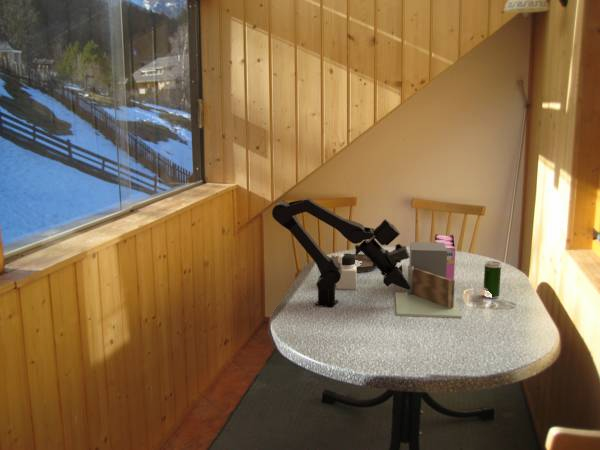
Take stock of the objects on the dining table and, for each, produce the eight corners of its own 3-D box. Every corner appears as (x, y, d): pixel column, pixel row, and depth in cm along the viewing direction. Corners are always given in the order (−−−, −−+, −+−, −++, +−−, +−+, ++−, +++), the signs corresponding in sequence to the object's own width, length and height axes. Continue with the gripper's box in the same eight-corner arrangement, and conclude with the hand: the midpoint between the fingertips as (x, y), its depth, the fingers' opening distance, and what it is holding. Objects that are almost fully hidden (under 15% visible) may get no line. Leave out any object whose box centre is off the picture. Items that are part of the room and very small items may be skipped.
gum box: (433, 265, 259) (434, 233, 256) (453, 266, 257) (454, 234, 255) (432, 282, 236) (433, 246, 233) (454, 283, 234) (455, 247, 232)
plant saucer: (320, 269, 256) (320, 261, 255) (348, 258, 272) (348, 251, 271) (364, 277, 244) (364, 269, 243) (390, 265, 260) (391, 258, 259)
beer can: (492, 300, 215) (494, 265, 213) (479, 296, 220) (481, 262, 217) (502, 297, 218) (504, 263, 216) (490, 293, 223) (492, 260, 220)
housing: (395, 284, 234) (396, 241, 231) (450, 285, 231) (452, 243, 228) (396, 315, 201) (397, 266, 198) (461, 318, 198) (463, 268, 195)
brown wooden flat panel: (412, 293, 219) (413, 268, 217) (415, 293, 220) (416, 268, 218) (450, 308, 204) (451, 281, 202) (453, 307, 205) (454, 280, 203)
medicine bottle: (356, 283, 235) (356, 252, 232) (356, 289, 228) (356, 257, 225) (337, 283, 235) (337, 251, 233) (336, 289, 228) (336, 256, 226)
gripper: (395, 245, 196) (430, 281, 197) (394, 232, 214) (426, 265, 215) (369, 268, 199) (403, 304, 199) (370, 253, 217) (401, 286, 218)
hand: (409, 288), depth 208 cm, fingers closed
